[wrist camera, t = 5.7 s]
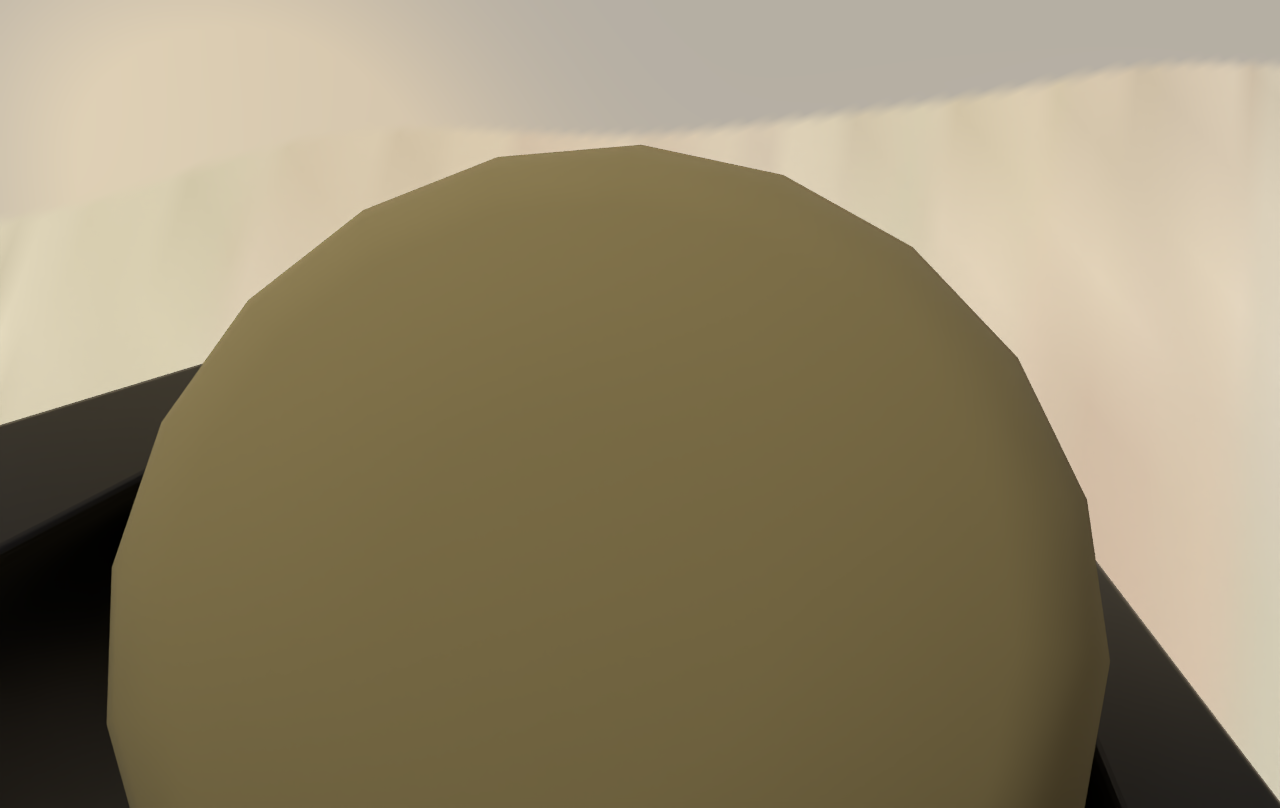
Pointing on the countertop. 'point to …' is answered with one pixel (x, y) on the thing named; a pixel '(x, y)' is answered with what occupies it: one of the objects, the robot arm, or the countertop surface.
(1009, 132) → the countertop surface
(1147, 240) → the countertop surface
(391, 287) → the cork
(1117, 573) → the countertop surface
